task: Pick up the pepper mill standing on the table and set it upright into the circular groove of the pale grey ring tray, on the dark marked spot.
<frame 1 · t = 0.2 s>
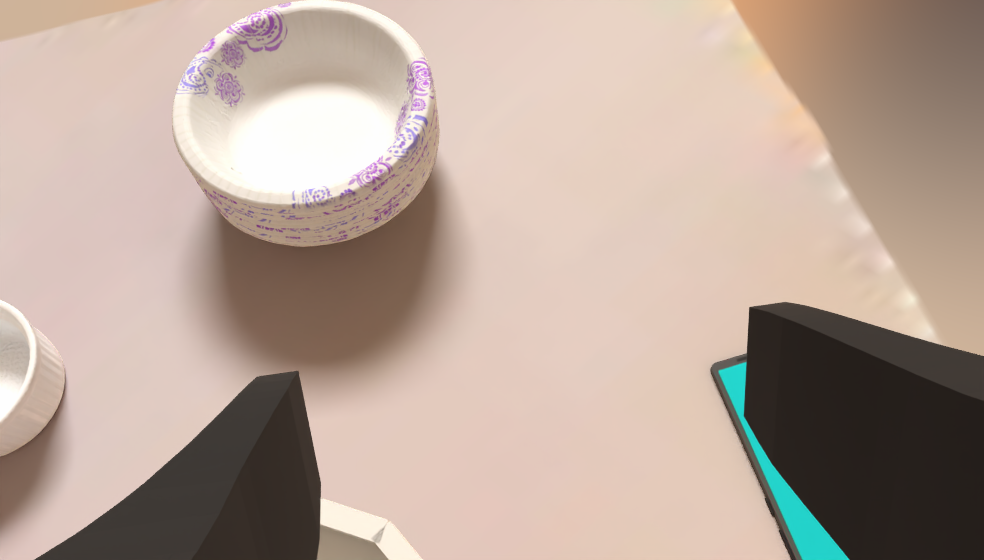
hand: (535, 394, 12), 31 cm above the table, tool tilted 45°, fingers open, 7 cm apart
ramekin: (1, 394, 44), on the table
smartphone: (818, 474, 42), on the table
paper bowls: (330, 170, 50), on the table
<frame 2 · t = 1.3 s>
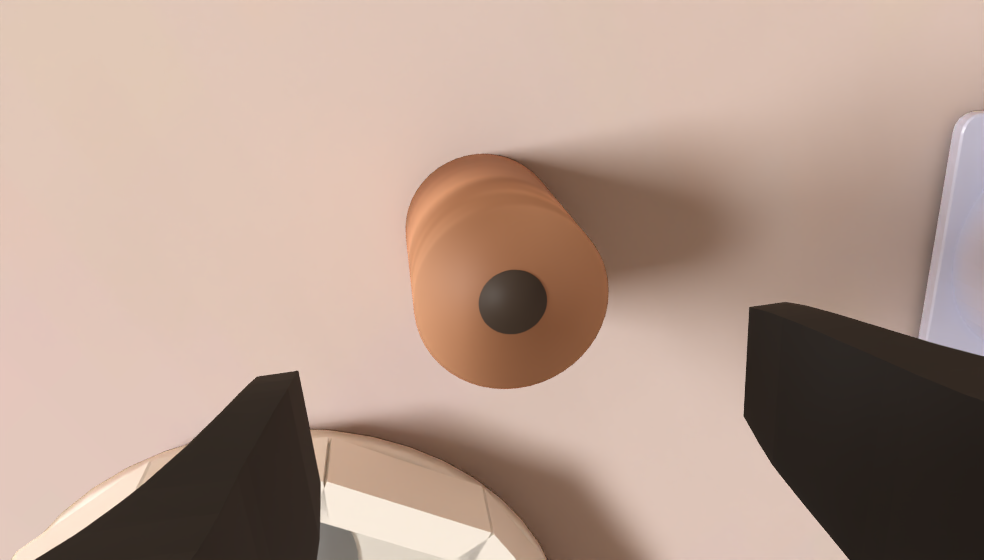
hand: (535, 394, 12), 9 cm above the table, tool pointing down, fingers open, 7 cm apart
pepper mill: (481, 228, 20), on the table
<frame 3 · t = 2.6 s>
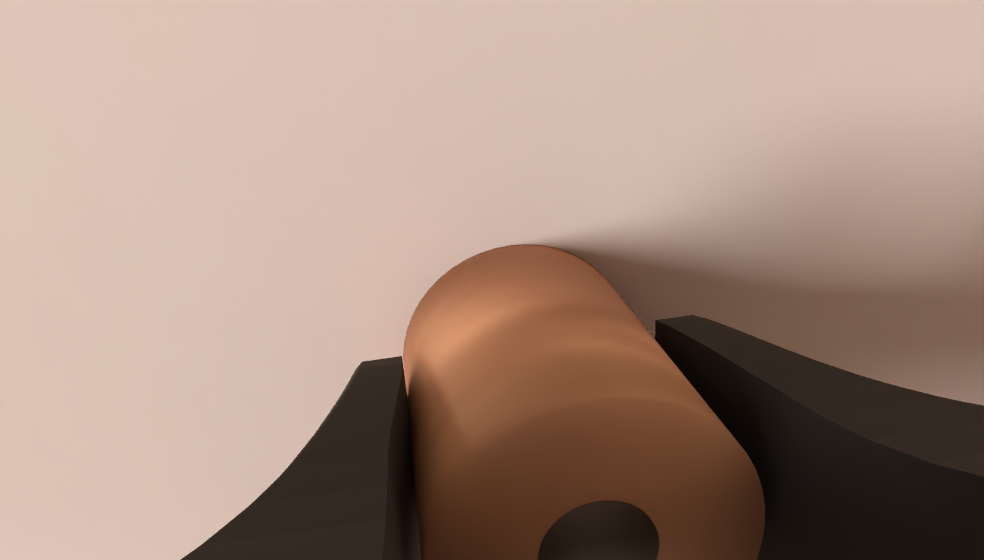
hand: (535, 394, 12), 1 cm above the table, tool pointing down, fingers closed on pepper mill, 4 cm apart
pepper mill: (518, 353, 13), on the table, touching gripper
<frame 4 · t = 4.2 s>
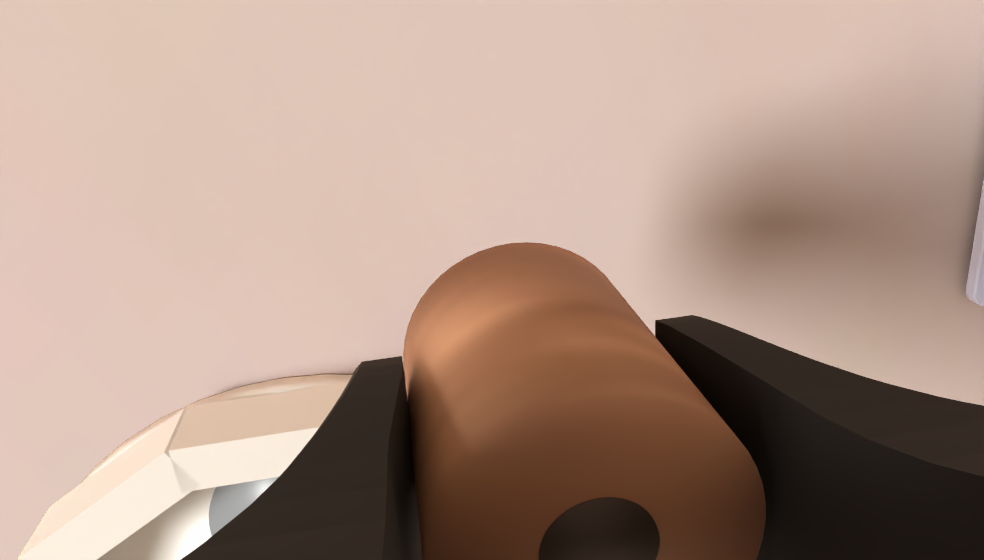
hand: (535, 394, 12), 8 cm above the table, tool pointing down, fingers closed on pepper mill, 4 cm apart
pepper mill: (518, 351, 13), point 7 cm above the table, touching gripper
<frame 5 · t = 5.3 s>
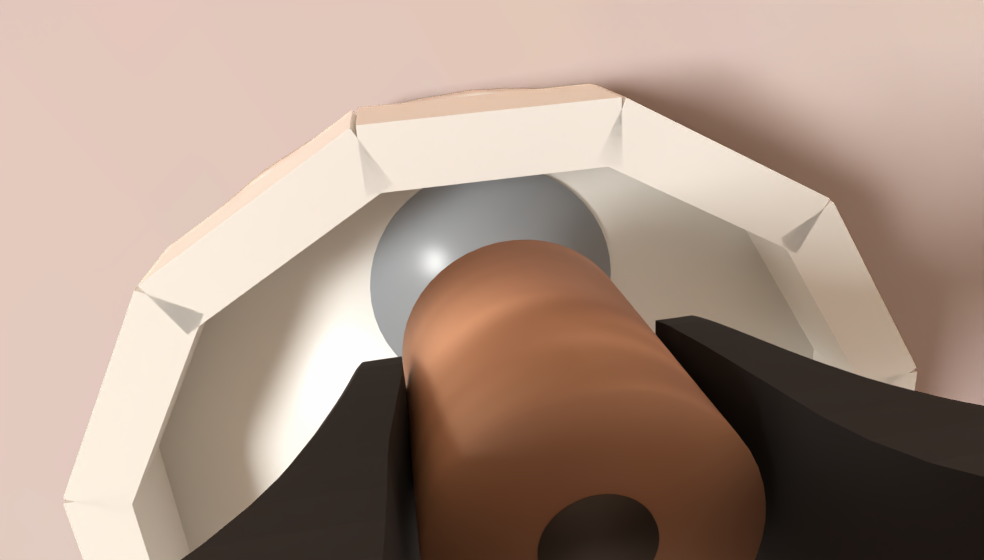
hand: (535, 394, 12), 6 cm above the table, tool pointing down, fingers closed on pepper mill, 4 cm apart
ring tray: (503, 450, 19), on the table
pepper mill: (517, 348, 13), point 4 cm above the table, touching gripper
when the fingers open (4 cm above the table, at t = 6.0 s): pepper mill drops 1 cm, resting on ring tray.
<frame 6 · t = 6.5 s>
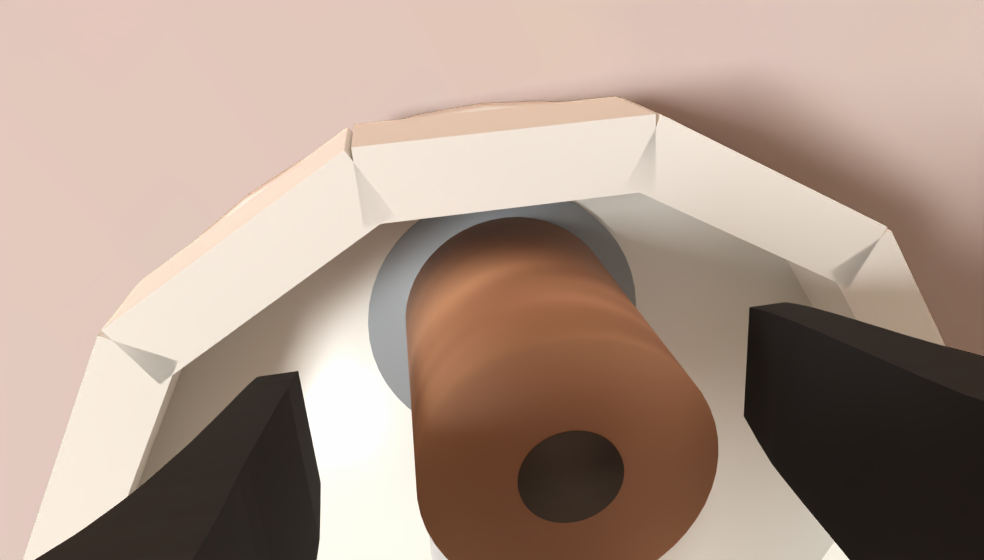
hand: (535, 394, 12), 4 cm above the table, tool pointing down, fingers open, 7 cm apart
ring tray: (514, 495, 17), on the table
pepper mill: (510, 317, 14), point 1 cm above the table, touching ring tray
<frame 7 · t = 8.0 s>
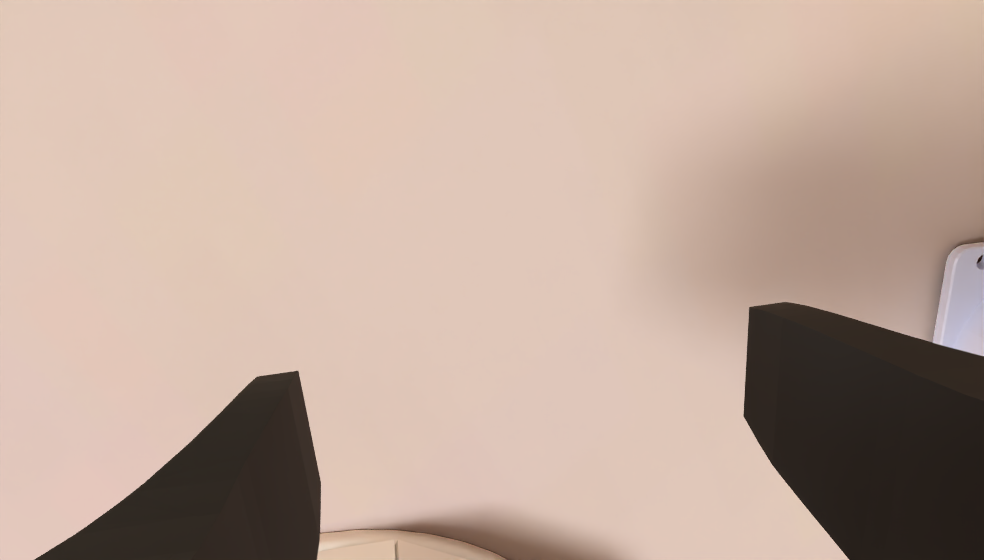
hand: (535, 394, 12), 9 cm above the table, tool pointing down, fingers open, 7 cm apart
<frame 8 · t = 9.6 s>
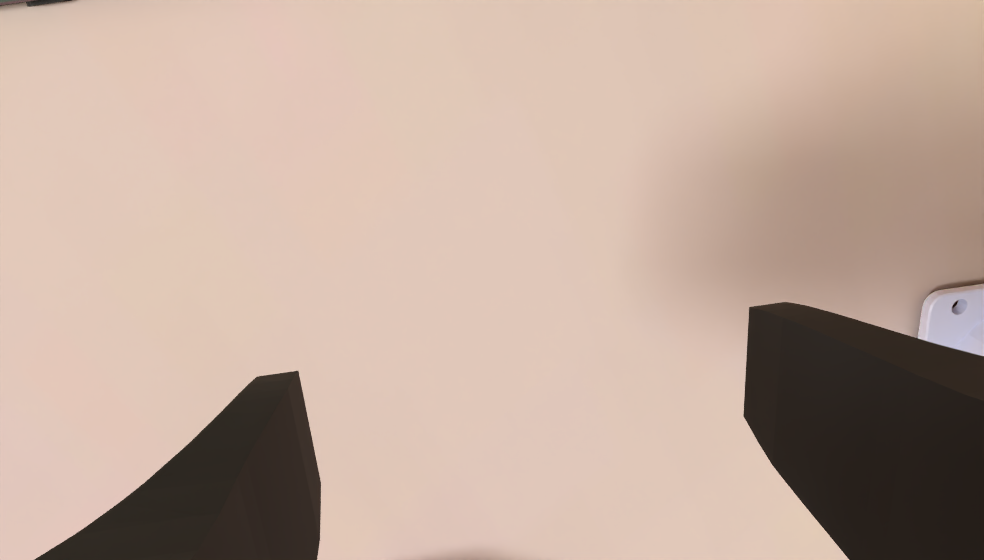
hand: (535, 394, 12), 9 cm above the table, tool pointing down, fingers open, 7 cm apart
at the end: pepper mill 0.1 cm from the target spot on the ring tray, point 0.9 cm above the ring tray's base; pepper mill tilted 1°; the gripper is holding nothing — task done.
